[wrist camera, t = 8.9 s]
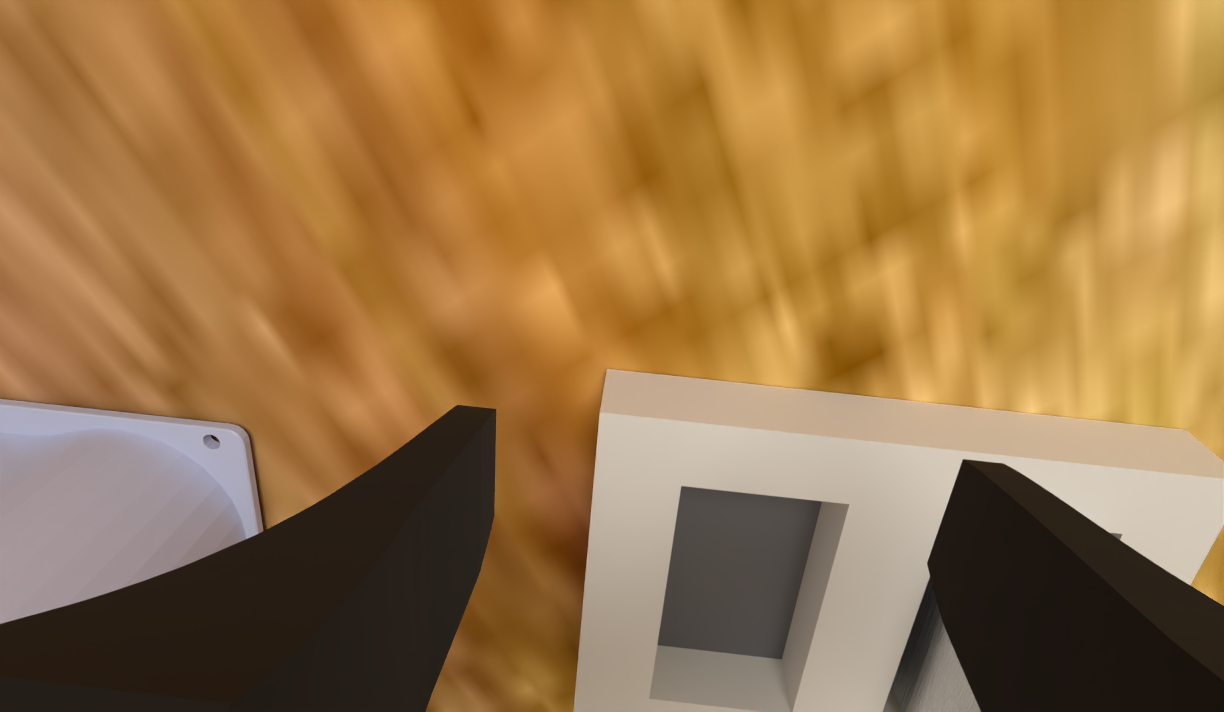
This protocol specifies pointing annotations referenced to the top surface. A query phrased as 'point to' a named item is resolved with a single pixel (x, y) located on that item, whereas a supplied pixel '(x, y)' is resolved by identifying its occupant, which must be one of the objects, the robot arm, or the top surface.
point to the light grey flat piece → (822, 533)
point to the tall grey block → (931, 666)
